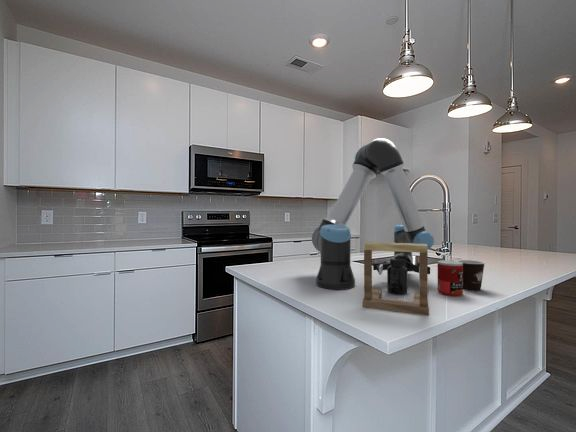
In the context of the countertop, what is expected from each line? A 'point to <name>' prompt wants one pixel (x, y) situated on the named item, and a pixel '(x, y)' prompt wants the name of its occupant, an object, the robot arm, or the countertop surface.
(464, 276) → the coffee mug
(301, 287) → the countertop surface
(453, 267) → the canned food
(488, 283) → the countertop surface
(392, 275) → the supplement bottle
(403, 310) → the notched shelf
